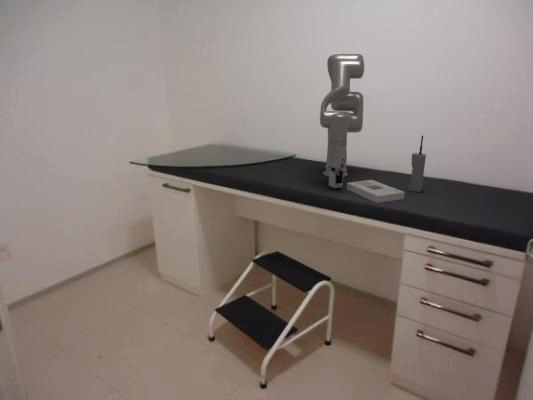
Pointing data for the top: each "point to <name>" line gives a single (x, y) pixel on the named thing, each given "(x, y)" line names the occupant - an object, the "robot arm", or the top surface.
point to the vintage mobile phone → (417, 170)
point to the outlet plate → (375, 191)
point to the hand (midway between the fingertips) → (335, 181)
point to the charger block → (334, 180)
